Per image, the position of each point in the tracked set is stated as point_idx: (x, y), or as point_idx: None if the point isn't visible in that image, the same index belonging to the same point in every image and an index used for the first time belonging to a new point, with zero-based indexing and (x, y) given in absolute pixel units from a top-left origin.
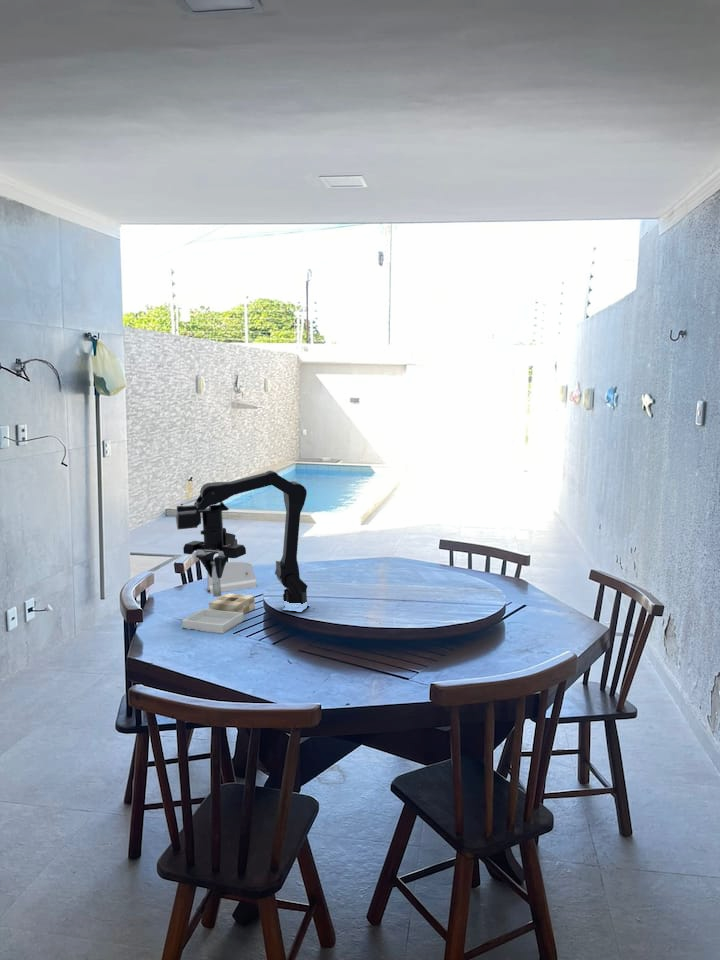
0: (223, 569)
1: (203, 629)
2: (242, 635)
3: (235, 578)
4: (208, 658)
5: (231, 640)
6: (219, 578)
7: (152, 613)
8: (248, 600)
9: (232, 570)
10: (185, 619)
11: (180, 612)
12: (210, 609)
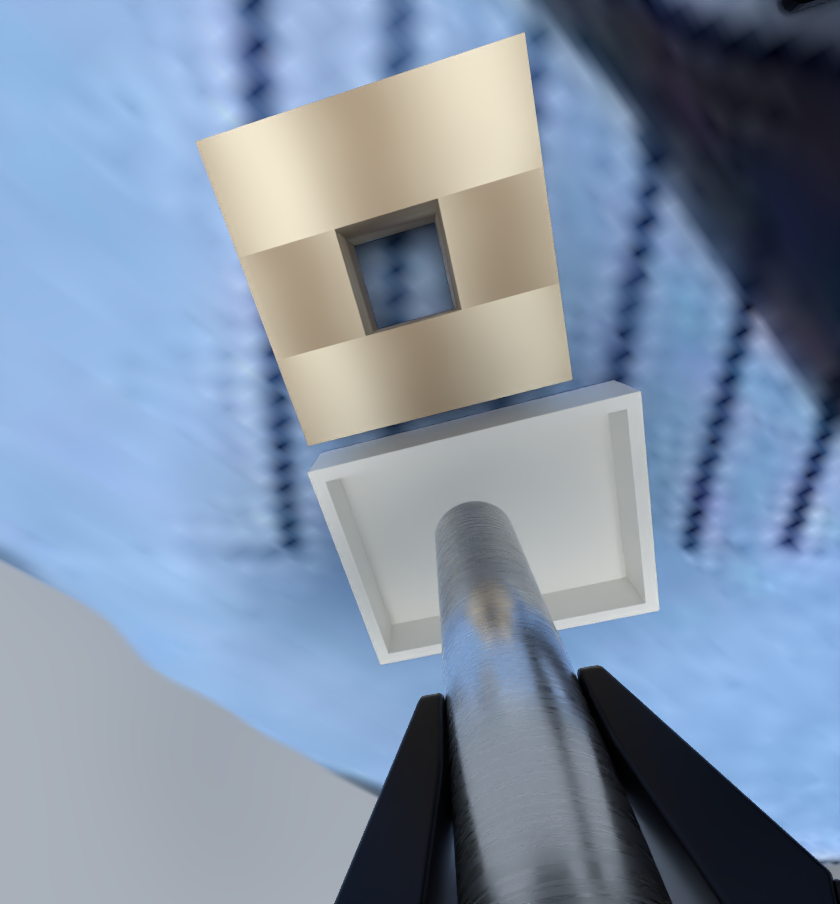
0: (747, 805)
1: None
2: (753, 545)
3: None
4: (759, 766)
5: (736, 613)
6: (575, 675)
7: (23, 566)
8: (540, 176)
9: None
10: (385, 648)
11: (128, 476)
12: (362, 459)
